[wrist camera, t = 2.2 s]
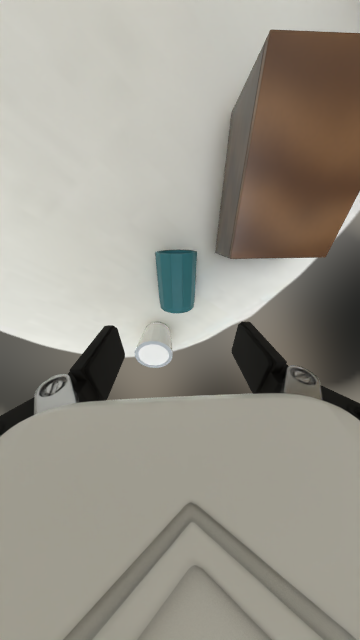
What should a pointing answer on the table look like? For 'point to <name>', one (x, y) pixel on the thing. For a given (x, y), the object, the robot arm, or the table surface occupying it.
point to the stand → (293, 148)
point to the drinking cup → (176, 279)
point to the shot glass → (155, 346)
